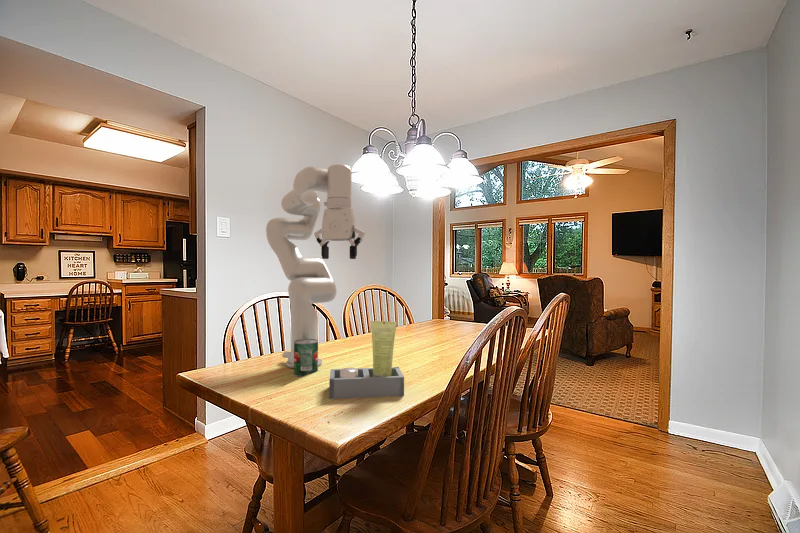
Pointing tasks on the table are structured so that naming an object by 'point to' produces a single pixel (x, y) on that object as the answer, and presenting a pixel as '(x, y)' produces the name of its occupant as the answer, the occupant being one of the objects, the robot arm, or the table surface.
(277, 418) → the table surface
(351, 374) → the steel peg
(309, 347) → the canned tomato
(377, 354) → the tube
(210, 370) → the table surface
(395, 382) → the rack
